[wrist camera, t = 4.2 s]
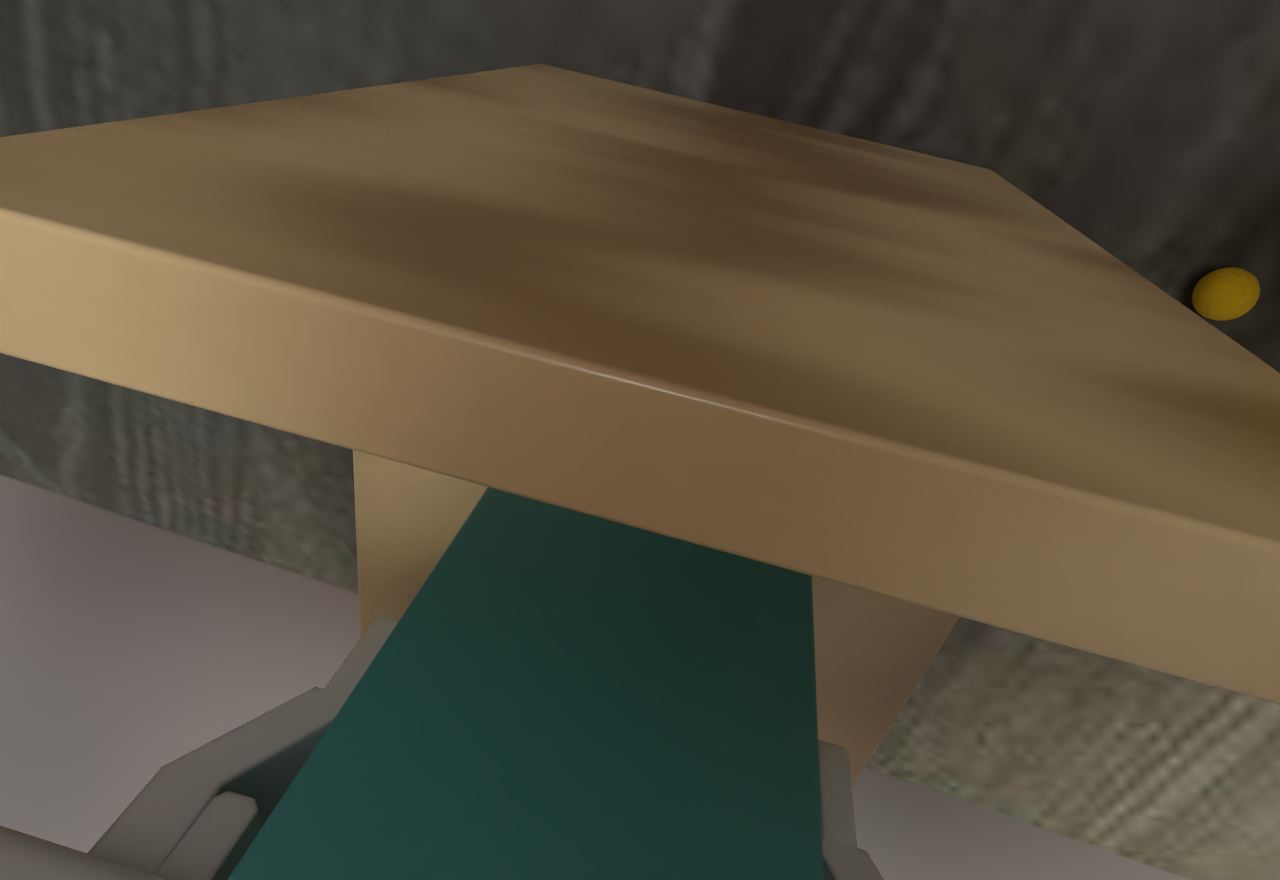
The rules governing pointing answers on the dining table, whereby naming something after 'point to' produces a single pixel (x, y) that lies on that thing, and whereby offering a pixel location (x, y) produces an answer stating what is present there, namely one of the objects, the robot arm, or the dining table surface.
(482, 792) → the tea box
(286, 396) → the shelf
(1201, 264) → the dining table surface
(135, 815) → the robot arm
